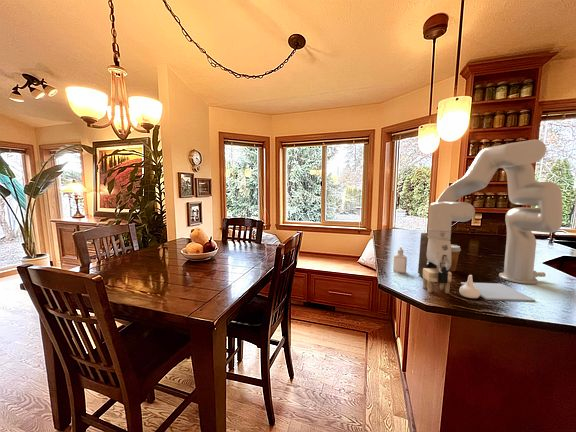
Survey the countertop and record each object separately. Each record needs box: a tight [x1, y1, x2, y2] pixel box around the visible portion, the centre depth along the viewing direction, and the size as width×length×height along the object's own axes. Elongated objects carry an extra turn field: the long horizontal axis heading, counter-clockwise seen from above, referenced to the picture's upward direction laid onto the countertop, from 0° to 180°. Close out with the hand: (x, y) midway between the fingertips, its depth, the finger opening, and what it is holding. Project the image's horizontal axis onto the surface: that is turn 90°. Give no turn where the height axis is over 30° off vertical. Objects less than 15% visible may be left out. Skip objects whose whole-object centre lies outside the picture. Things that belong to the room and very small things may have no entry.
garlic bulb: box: [458, 274, 481, 299], centre depth 94 cm, size 6×6×8 cm
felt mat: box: [460, 281, 536, 302], centre depth 97 cm, size 16×16×1 cm
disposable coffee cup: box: [441, 244, 462, 272], centre depth 125 cm, size 10×10×12 cm
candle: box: [417, 232, 438, 277], centre depth 114 cm, size 8×7×20 cm
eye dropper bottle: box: [392, 246, 408, 274], centre depth 121 cm, size 4×6×12 cm
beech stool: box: [422, 268, 453, 295], centre depth 98 cm, size 8×6×8 cm
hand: (436, 278), depth 98 cm, fingers open, 8 cm apart
